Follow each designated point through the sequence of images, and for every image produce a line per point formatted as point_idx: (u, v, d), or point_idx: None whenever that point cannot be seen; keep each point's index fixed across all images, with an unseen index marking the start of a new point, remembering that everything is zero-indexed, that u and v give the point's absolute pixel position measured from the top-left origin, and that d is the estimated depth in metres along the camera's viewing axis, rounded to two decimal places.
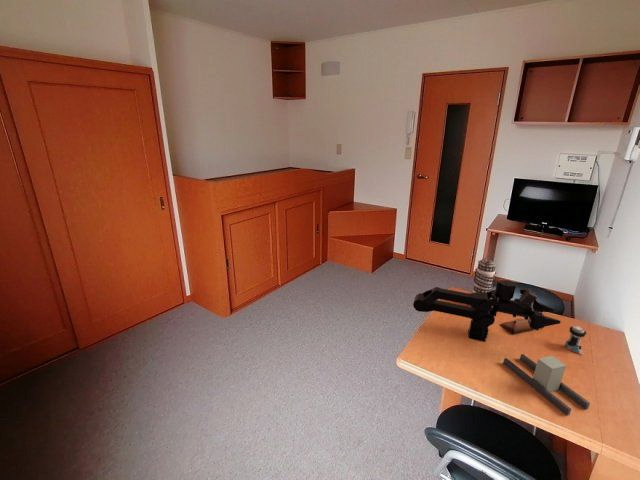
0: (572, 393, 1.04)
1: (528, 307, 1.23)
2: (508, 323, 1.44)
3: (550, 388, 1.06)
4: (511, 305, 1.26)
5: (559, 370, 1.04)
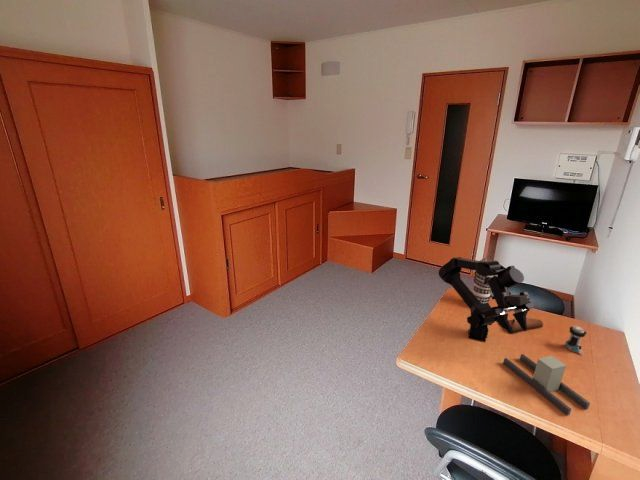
0: (572, 393, 1.04)
1: (505, 303, 1.18)
2: None
3: (550, 388, 1.06)
4: (498, 289, 1.22)
5: (559, 370, 1.04)
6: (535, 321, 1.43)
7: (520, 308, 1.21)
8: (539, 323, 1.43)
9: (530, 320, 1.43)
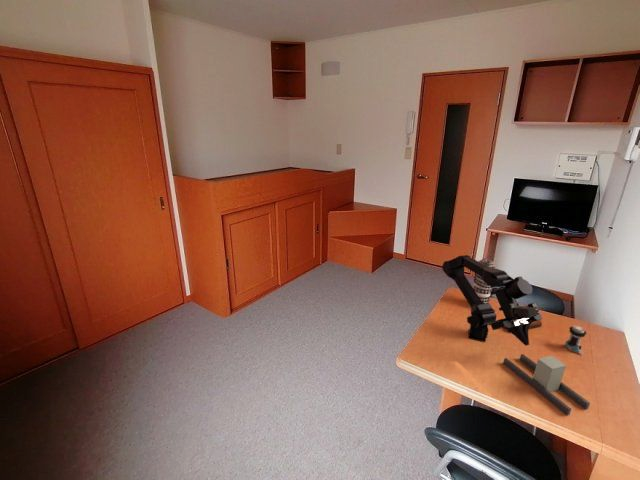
0: (572, 393, 1.04)
1: (513, 315, 1.15)
2: None
3: (550, 388, 1.06)
4: (506, 301, 1.19)
5: (559, 370, 1.04)
6: None
7: (522, 321, 1.17)
8: (538, 322, 1.44)
9: None
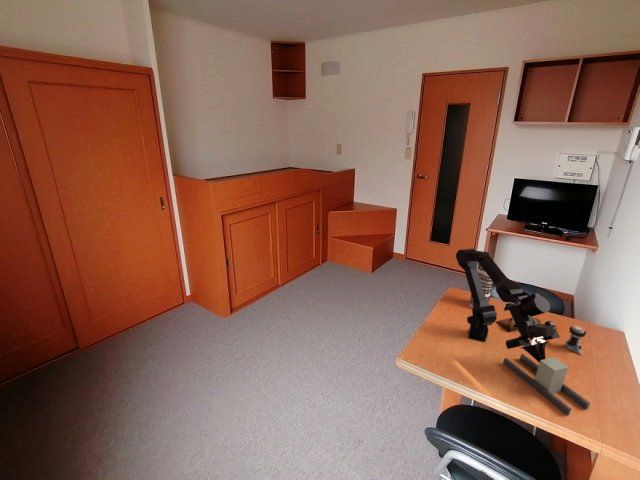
0: (572, 393, 1.04)
1: (529, 333, 1.10)
2: (505, 320, 1.46)
3: (552, 390, 1.05)
4: (521, 318, 1.13)
5: (561, 371, 1.03)
6: None
7: (538, 339, 1.11)
8: None
9: None
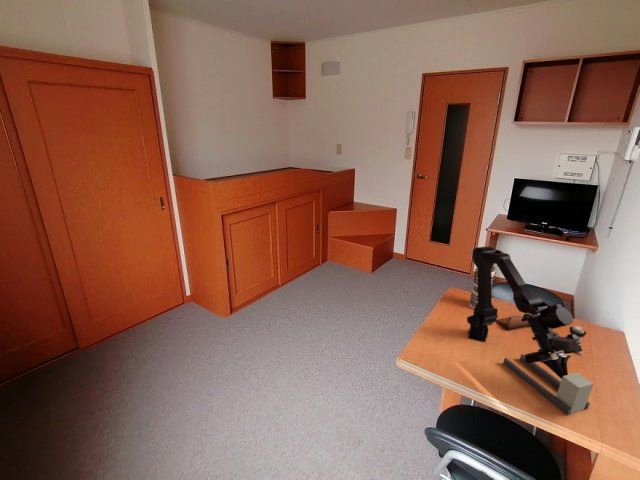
0: None
1: (550, 347, 1.03)
2: (503, 319, 1.47)
3: (576, 408, 0.98)
4: (541, 330, 1.06)
5: (586, 388, 0.97)
6: None
7: (559, 353, 1.05)
8: None
9: None
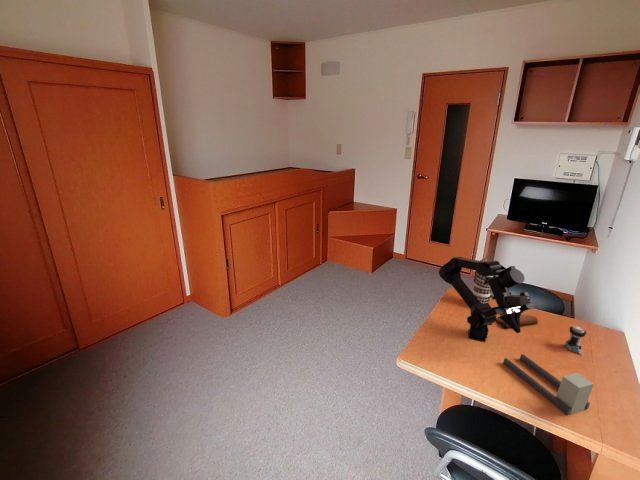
0: None
1: (505, 304, 1.18)
2: None
3: (576, 408, 0.98)
4: (499, 290, 1.21)
5: (586, 388, 0.97)
6: (530, 318, 1.46)
7: (514, 310, 1.20)
8: (534, 320, 1.46)
9: (525, 317, 1.46)
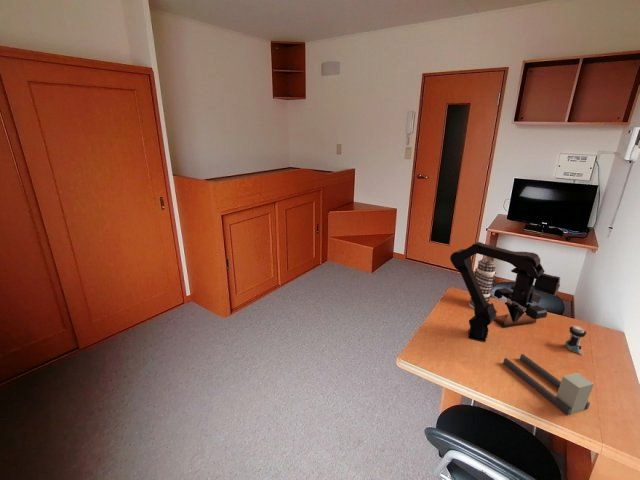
0: None
1: (532, 300, 1.20)
2: (500, 317, 1.49)
3: (576, 408, 0.98)
4: (527, 288, 1.17)
5: (586, 388, 0.97)
6: (528, 317, 1.47)
7: None
8: (532, 319, 1.47)
9: (523, 315, 1.47)
